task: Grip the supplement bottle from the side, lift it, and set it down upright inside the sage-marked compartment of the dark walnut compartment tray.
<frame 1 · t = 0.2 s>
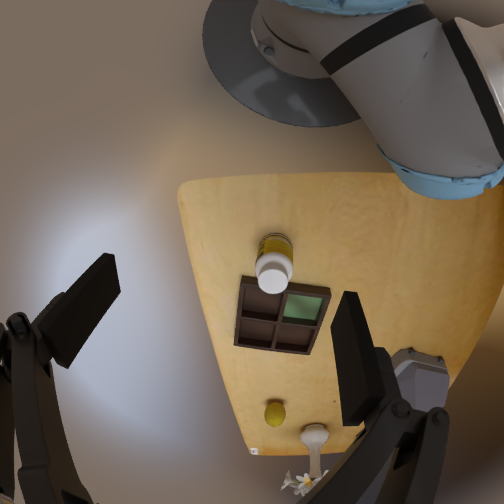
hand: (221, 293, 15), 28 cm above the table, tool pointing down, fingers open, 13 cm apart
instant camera: (404, 374, 58), on the table
compartment tray: (279, 315, 51), on the table
lemon: (275, 401, 66), on the table
flower vase: (312, 427, 74), on the table
supplement bottle: (275, 247, 45), on the table
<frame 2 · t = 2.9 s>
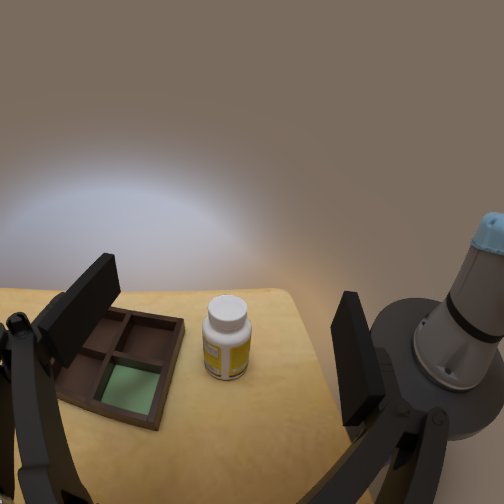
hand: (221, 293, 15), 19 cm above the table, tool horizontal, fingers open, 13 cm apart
compartment tray: (115, 363, 30), on the table
supplement bottle: (225, 364, 32), on the table
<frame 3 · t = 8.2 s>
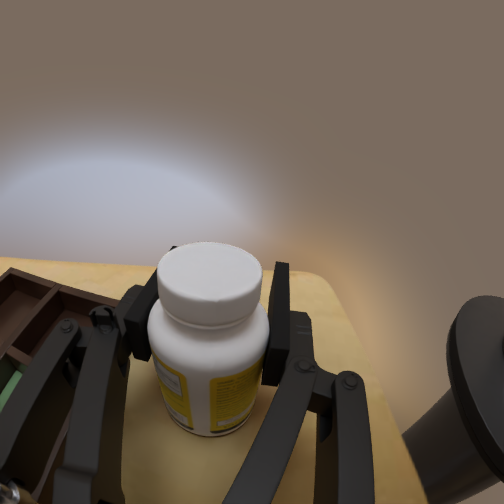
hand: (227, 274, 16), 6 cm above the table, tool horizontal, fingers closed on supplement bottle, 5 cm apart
compartment tray: (19, 368, 13), on the table
supplement bottle: (208, 401, 15), on the table, touching gripper
when the fingers open (7 cm above the table, at t = 15.6 s): supplement bottle stays where it is, resting on compartment tray.
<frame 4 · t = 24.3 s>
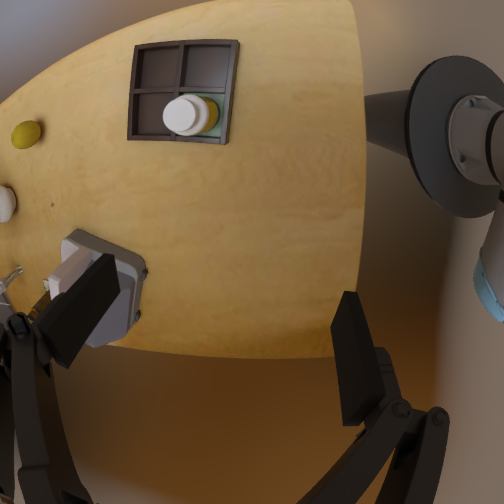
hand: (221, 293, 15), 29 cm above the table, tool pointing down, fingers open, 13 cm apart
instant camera: (106, 278, 53), on the table
compartment tray: (182, 90, 34), on the table
lemon: (40, 131, 38), on the table
human figurine: (20, 268, 57), on the table
flower vase: (9, 196, 46), on the table
supplement bottle: (202, 114, 36), resting on compartment tray
condiment: (56, 294, 59), on the table
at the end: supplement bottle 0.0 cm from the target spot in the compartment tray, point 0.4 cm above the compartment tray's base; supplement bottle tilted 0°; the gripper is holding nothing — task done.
